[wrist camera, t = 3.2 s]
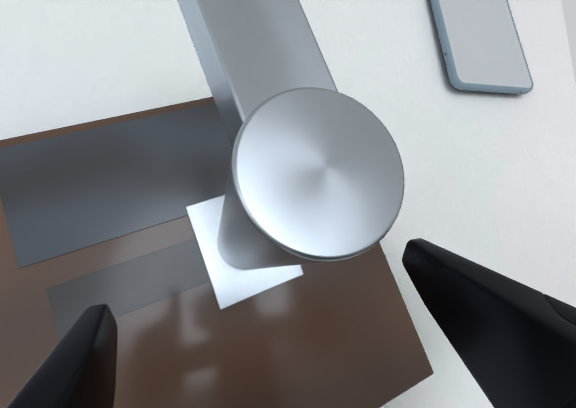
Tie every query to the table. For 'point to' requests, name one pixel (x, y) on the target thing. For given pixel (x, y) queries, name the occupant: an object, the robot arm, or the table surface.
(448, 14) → the smartphone
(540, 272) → the table surface
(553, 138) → the table surface
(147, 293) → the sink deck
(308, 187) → the tap
